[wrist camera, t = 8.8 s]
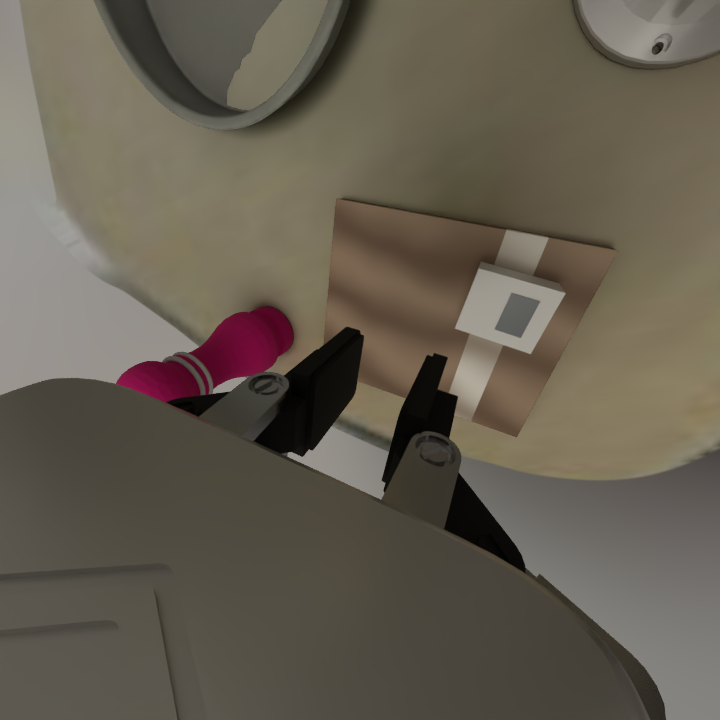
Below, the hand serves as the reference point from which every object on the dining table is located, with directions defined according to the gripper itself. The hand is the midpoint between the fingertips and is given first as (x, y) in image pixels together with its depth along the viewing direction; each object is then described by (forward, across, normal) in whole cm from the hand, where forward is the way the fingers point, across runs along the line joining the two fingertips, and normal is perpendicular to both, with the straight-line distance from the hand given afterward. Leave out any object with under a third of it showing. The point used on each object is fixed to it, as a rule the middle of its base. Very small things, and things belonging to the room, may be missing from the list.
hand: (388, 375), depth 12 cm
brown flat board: (+19, 0, +4) cm, 20 cm away
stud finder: (+18, -5, +1) cm, 18 cm away
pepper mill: (+19, +20, +12) cm, 30 cm away
